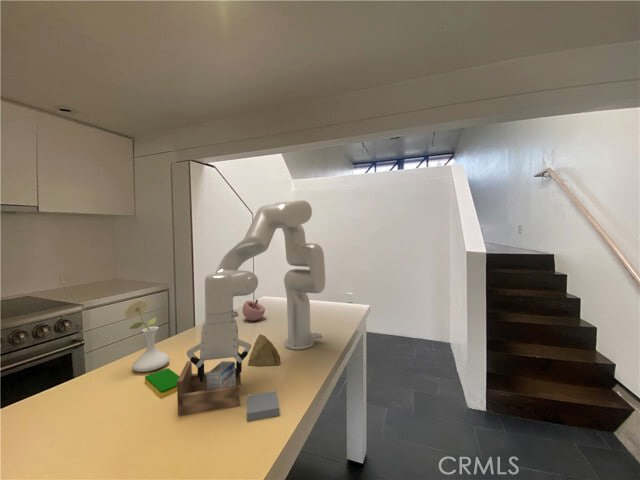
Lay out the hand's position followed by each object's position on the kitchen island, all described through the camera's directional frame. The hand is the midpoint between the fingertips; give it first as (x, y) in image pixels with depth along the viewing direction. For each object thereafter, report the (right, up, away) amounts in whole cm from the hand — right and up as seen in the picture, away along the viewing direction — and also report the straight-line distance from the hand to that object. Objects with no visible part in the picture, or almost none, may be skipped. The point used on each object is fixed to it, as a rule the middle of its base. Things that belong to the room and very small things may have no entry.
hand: (220, 377), depth 78 cm
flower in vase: (-32, -7, +19) cm, 38 cm away
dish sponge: (-20, -7, +8) cm, 23 cm away
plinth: (+13, -6, -6) cm, 15 cm away
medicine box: (0, -6, 0) cm, 6 cm away
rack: (-2, -6, 0) cm, 6 cm away
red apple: (-8, -5, +72) cm, 72 cm away
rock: (+9, -6, +20) cm, 23 cm away
